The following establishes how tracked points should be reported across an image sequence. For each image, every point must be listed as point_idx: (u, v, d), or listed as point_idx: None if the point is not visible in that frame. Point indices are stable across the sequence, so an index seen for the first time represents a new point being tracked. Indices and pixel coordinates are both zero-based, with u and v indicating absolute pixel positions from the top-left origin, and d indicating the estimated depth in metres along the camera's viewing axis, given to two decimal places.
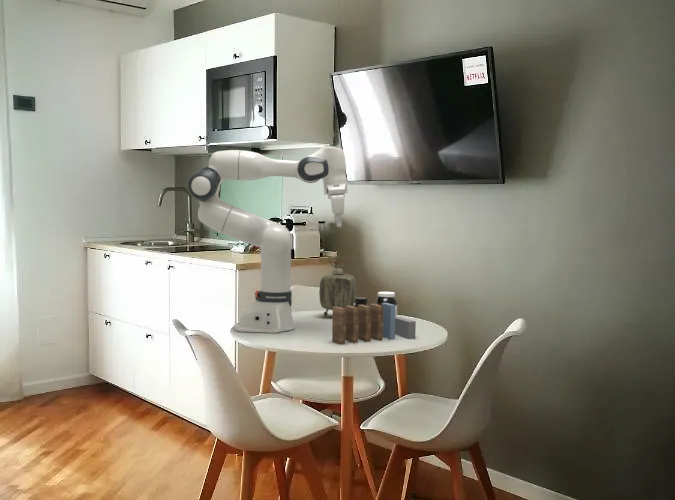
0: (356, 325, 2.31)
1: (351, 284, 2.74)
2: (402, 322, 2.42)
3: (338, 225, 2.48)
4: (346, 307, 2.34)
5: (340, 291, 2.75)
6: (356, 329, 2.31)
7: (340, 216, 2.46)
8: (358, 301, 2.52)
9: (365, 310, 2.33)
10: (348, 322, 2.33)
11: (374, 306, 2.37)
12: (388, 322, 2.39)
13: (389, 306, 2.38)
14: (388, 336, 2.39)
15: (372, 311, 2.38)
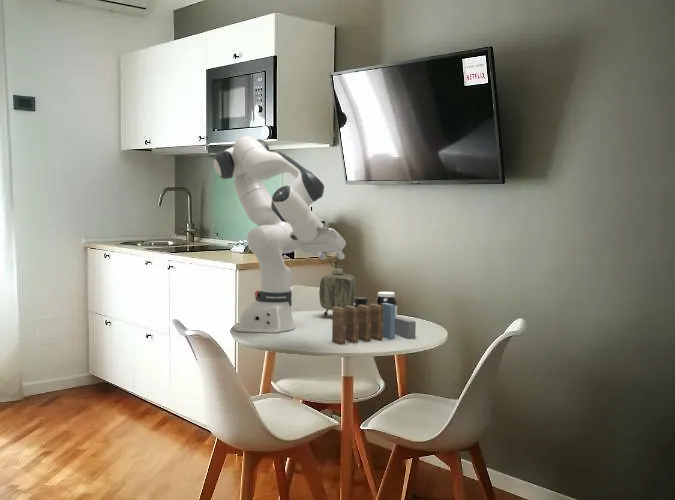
0: (356, 325, 2.31)
1: (351, 284, 2.74)
2: (402, 322, 2.42)
3: None
4: (346, 307, 2.34)
5: (340, 291, 2.75)
6: (356, 329, 2.31)
7: None
8: (358, 301, 2.52)
9: (365, 310, 2.33)
10: (348, 322, 2.33)
11: (374, 306, 2.37)
12: (388, 322, 2.39)
13: (389, 306, 2.38)
14: (388, 336, 2.39)
15: (372, 311, 2.38)
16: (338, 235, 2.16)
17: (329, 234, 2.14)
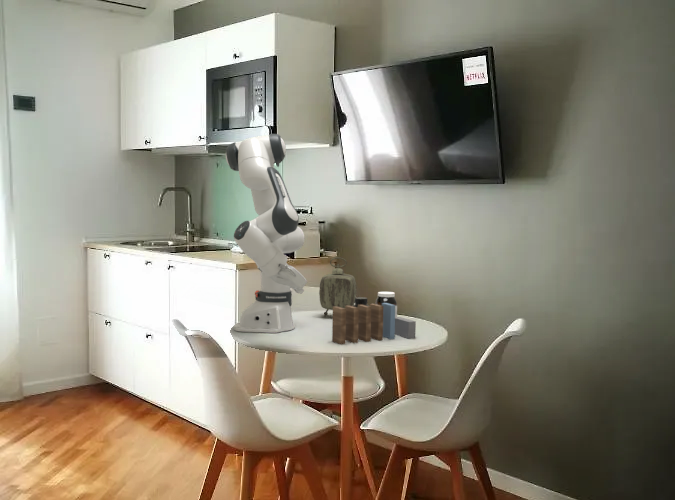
0: (356, 325, 2.31)
1: (351, 284, 2.74)
2: (402, 322, 2.42)
3: None
4: (346, 307, 2.34)
5: (340, 291, 2.75)
6: (356, 329, 2.31)
7: None
8: (358, 301, 2.52)
9: (365, 310, 2.33)
10: (348, 322, 2.33)
11: (374, 306, 2.37)
12: (388, 322, 2.39)
13: (389, 306, 2.38)
14: (388, 336, 2.39)
15: (372, 311, 2.38)
16: (298, 273, 2.11)
17: (288, 272, 2.10)
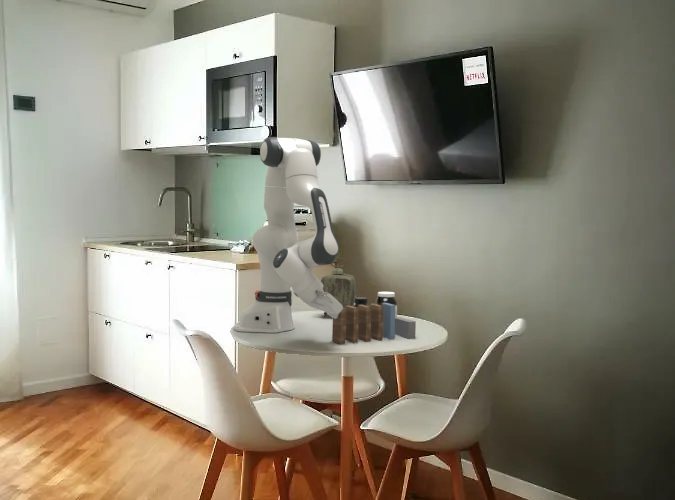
0: (356, 325, 2.31)
1: (351, 284, 2.74)
2: (402, 322, 2.42)
3: None
4: (346, 307, 2.34)
5: (340, 291, 2.75)
6: (356, 329, 2.31)
7: None
8: (358, 301, 2.52)
9: (365, 310, 2.33)
10: (348, 322, 2.33)
11: (374, 306, 2.37)
12: (388, 322, 2.39)
13: (389, 306, 2.38)
14: (388, 336, 2.39)
15: (372, 311, 2.38)
16: (334, 300, 2.18)
17: (325, 299, 2.17)
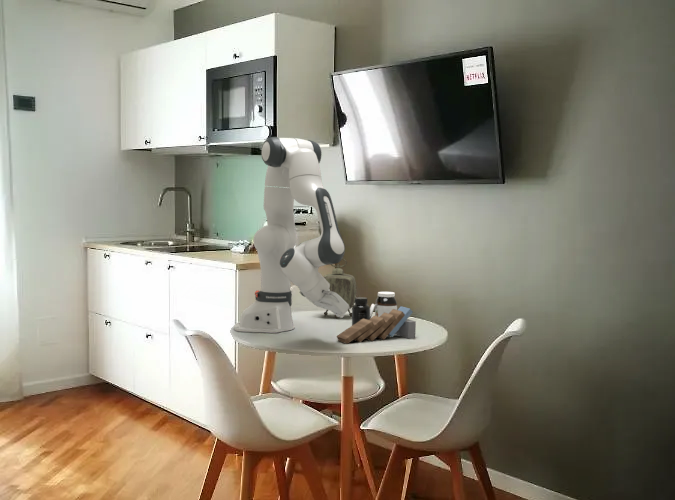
0: (372, 330, 2.34)
1: (351, 284, 2.74)
2: None
3: None
4: (374, 316, 2.40)
5: (340, 291, 2.75)
6: (369, 332, 2.34)
7: None
8: (358, 301, 2.52)
9: (390, 316, 2.38)
10: None
11: (396, 311, 2.42)
12: None
13: (407, 309, 2.42)
14: None
15: None
16: (341, 299, 2.19)
17: (331, 299, 2.19)
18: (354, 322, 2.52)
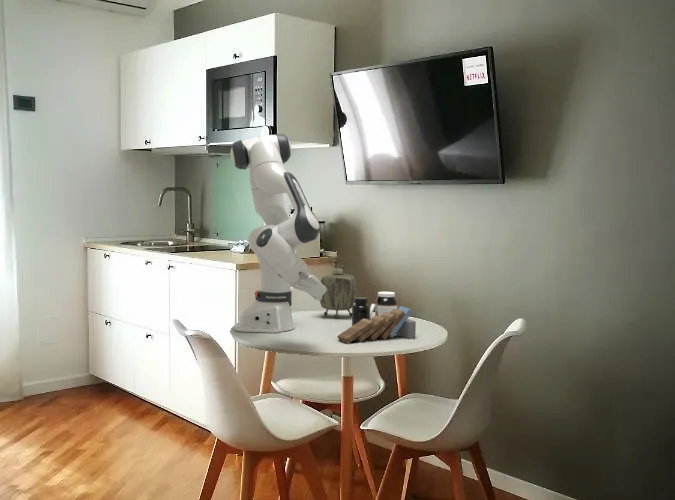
0: (372, 330, 2.34)
1: (351, 284, 2.74)
2: None
3: None
4: (375, 316, 2.40)
5: (340, 291, 2.75)
6: (370, 332, 2.34)
7: None
8: (358, 301, 2.52)
9: (390, 316, 2.38)
10: None
11: (397, 310, 2.42)
12: None
13: (407, 309, 2.42)
14: None
15: None
16: (318, 282, 2.15)
17: (308, 281, 2.14)
18: (354, 322, 2.52)
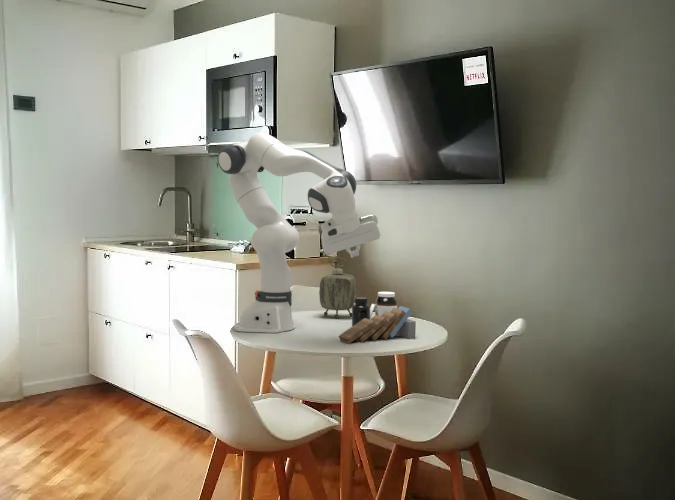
0: (374, 330, 2.34)
1: (351, 284, 2.74)
2: None
3: (350, 255, 2.36)
4: (376, 315, 2.41)
5: (340, 291, 2.75)
6: (371, 332, 2.34)
7: (346, 249, 2.33)
8: (358, 301, 2.52)
9: (391, 315, 2.38)
10: None
11: (397, 310, 2.42)
12: None
13: (407, 309, 2.42)
14: None
15: None
16: None
17: (373, 221, 2.30)
18: (354, 322, 2.52)
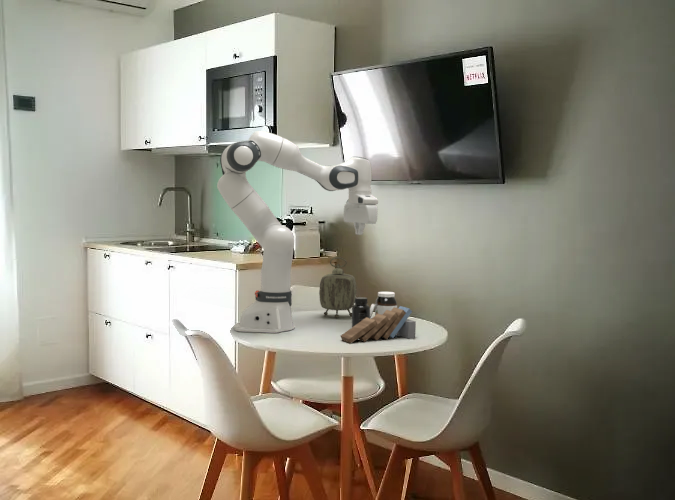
0: (376, 329, 2.35)
1: (351, 284, 2.74)
2: None
3: (360, 233, 2.63)
4: (377, 314, 2.41)
5: (340, 291, 2.75)
6: (373, 331, 2.34)
7: (364, 225, 2.62)
8: (358, 301, 2.52)
9: (392, 314, 2.39)
10: None
11: (397, 309, 2.42)
12: None
13: (407, 309, 2.42)
14: None
15: None
16: None
17: None
18: (354, 322, 2.52)
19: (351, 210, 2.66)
